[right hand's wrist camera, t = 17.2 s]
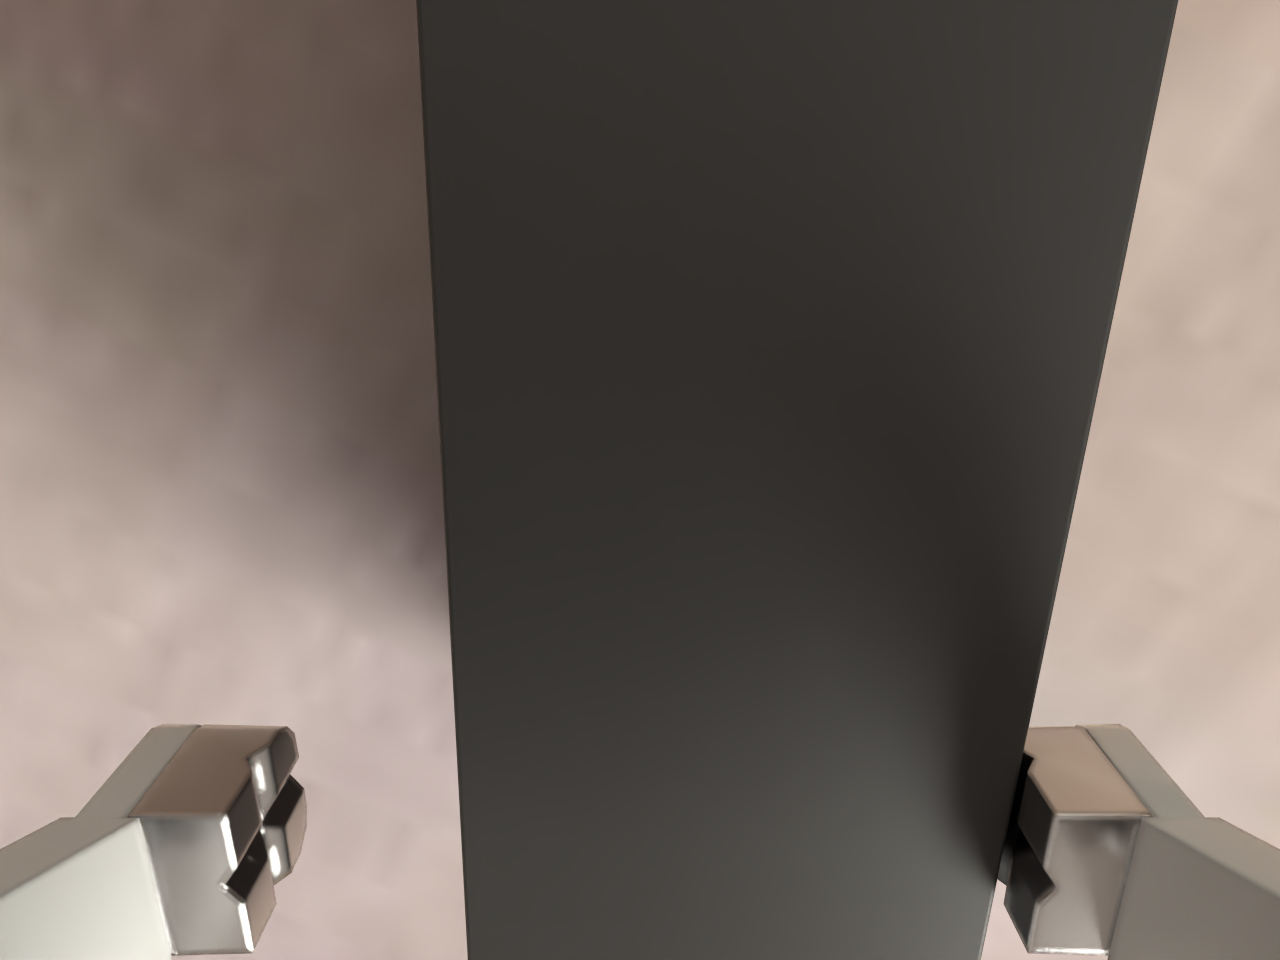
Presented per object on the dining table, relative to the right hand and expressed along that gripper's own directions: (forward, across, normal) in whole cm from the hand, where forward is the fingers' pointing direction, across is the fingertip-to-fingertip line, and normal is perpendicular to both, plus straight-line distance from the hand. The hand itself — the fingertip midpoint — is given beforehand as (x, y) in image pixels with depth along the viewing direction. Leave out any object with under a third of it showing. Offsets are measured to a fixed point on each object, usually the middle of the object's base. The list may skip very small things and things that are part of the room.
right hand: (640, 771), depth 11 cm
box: (+8, -1, -8) cm, 12 cm away
